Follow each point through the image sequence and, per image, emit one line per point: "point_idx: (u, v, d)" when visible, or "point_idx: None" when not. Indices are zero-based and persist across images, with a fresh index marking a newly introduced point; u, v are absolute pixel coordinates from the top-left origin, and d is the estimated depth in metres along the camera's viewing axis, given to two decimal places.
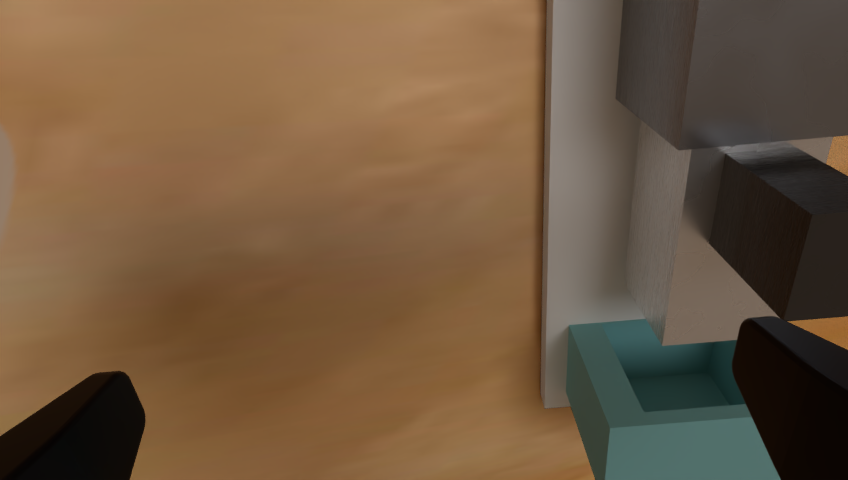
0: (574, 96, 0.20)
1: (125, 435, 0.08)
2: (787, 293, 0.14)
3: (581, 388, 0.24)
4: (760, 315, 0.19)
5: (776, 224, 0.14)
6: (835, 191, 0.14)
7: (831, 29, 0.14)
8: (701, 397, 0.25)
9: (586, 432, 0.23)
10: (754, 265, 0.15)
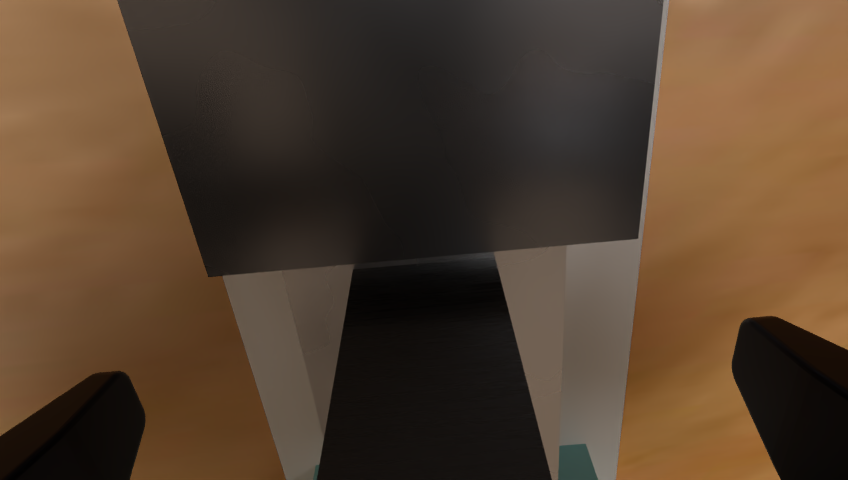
0: None
1: (125, 435, 0.08)
2: None
3: None
4: None
5: None
6: (447, 427, 0.05)
7: (462, 10, 0.06)
8: None
9: None
10: None
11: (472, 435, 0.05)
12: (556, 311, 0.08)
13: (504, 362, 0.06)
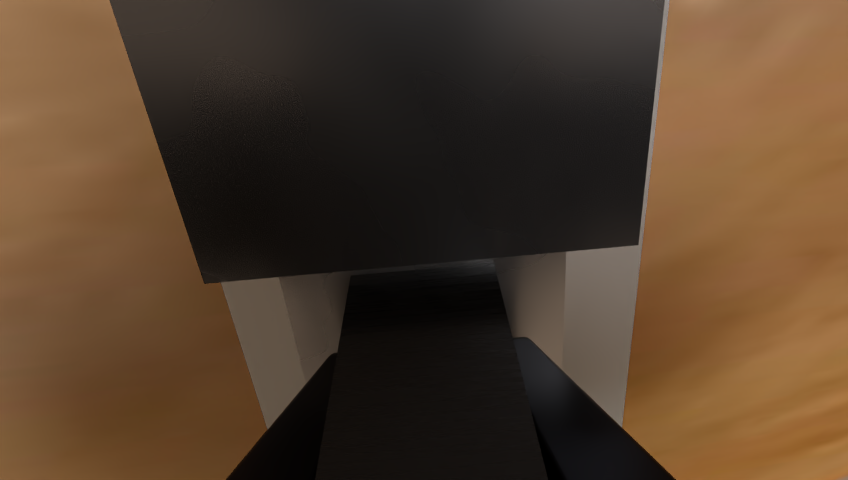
0: None
1: None
2: None
3: None
4: None
5: None
6: (445, 438, 0.05)
7: (461, 16, 0.06)
8: None
9: None
10: None
11: (470, 446, 0.05)
12: (556, 317, 0.08)
13: (503, 371, 0.06)
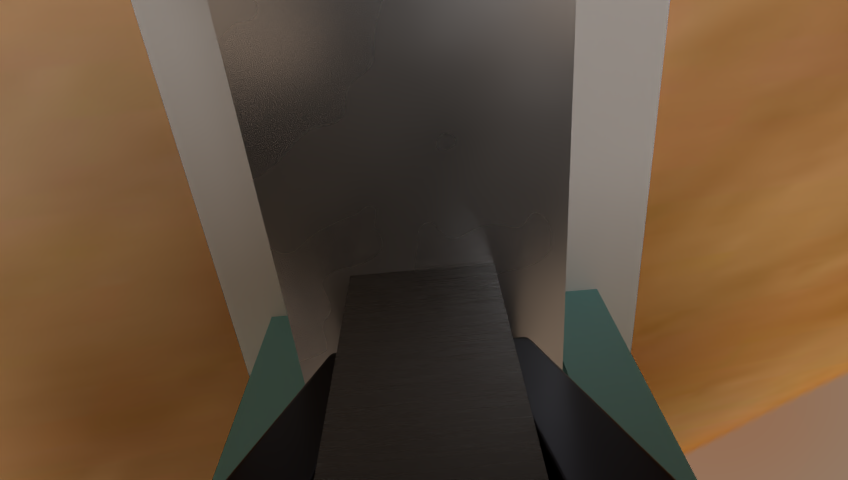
0: None
1: None
2: None
3: None
4: None
5: None
6: (445, 438, 0.05)
7: None
8: None
9: None
10: None
11: (470, 447, 0.05)
12: (556, 318, 0.08)
13: (503, 371, 0.06)
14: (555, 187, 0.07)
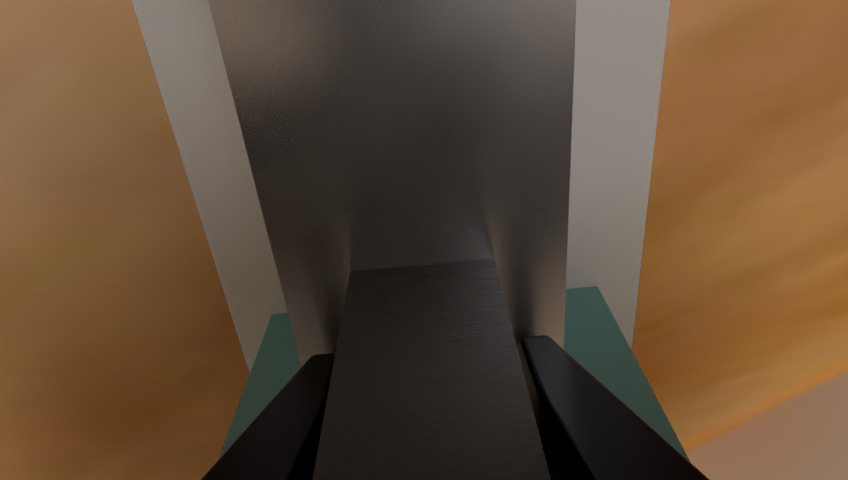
0: None
1: None
2: None
3: None
4: None
5: None
6: (444, 432, 0.05)
7: None
8: None
9: None
10: None
11: (471, 442, 0.05)
12: (557, 314, 0.08)
13: (504, 366, 0.06)
14: (556, 183, 0.07)
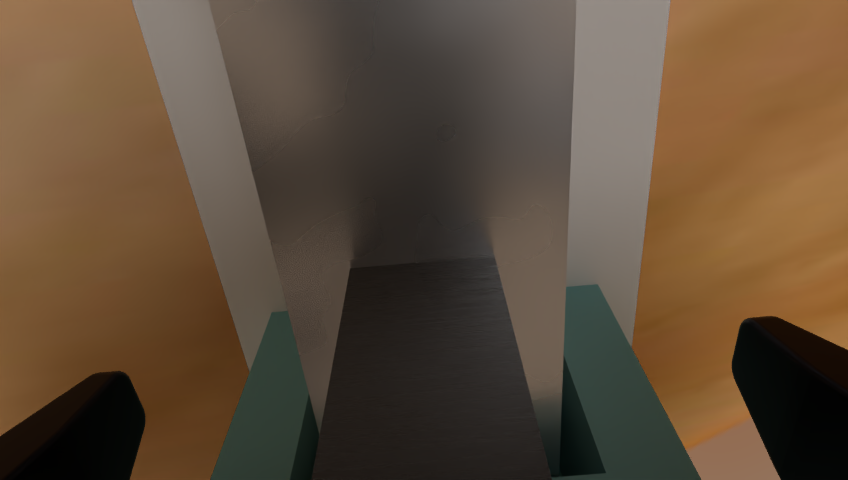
0: None
1: (125, 435, 0.08)
2: None
3: None
4: None
5: None
6: (444, 428, 0.05)
7: None
8: None
9: None
10: None
11: (471, 439, 0.05)
12: (557, 311, 0.08)
13: (504, 362, 0.06)
14: (556, 179, 0.07)
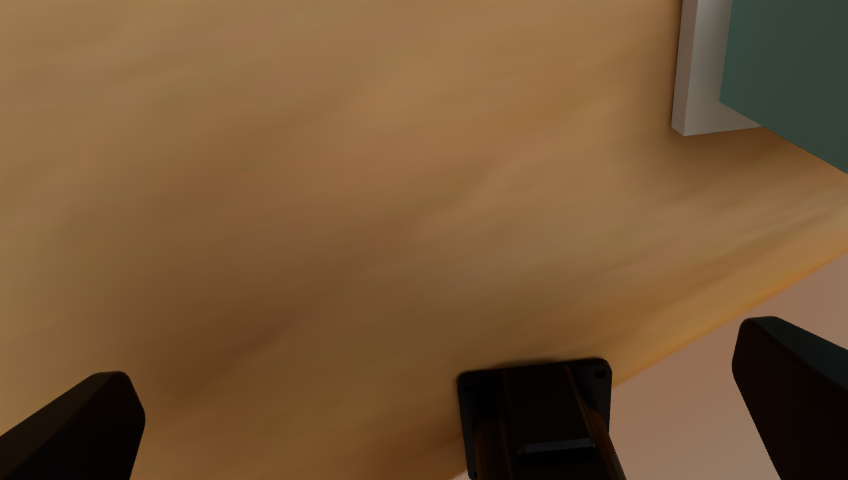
0: None
1: (125, 435, 0.08)
2: None
3: (776, 31, 0.14)
4: None
5: None
6: None
7: None
8: None
9: (789, 98, 0.14)
10: None
11: None
12: None
13: None
14: None
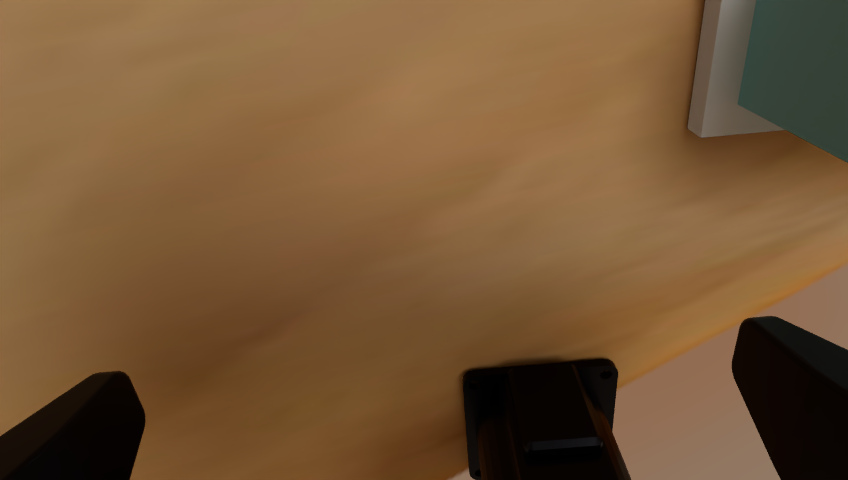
0: None
1: (125, 435, 0.08)
2: None
3: (801, 33, 0.14)
4: None
5: None
6: None
7: None
8: None
9: (813, 101, 0.14)
10: None
11: None
12: None
13: None
14: None
